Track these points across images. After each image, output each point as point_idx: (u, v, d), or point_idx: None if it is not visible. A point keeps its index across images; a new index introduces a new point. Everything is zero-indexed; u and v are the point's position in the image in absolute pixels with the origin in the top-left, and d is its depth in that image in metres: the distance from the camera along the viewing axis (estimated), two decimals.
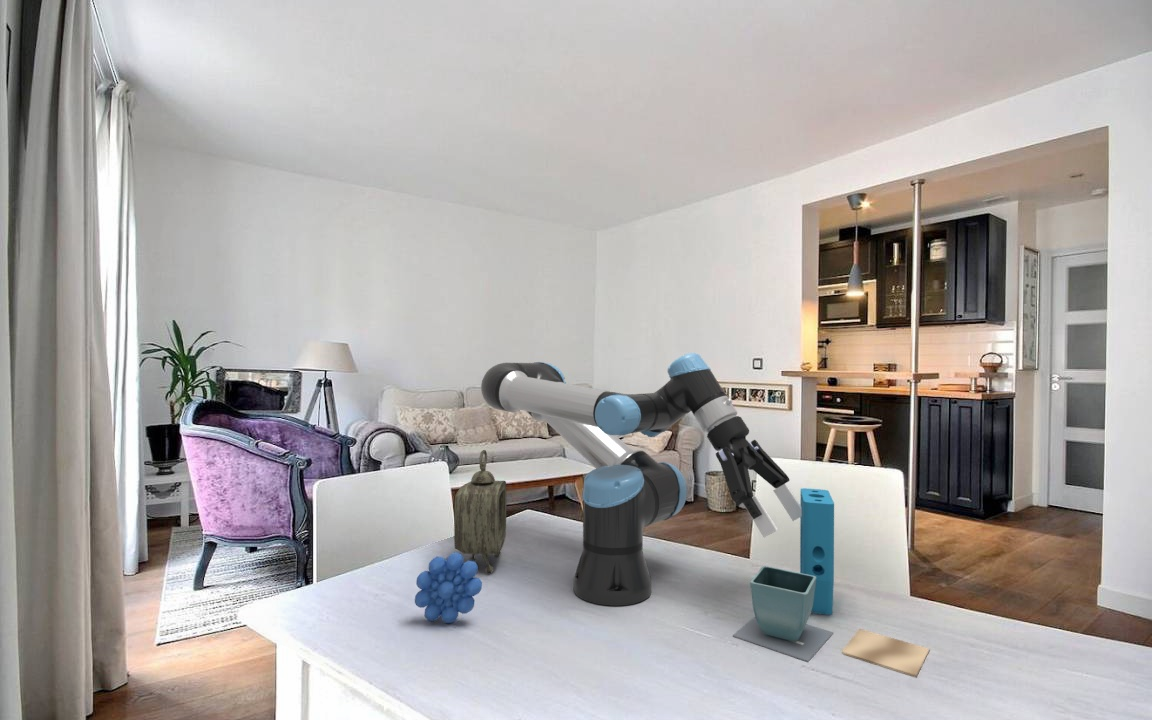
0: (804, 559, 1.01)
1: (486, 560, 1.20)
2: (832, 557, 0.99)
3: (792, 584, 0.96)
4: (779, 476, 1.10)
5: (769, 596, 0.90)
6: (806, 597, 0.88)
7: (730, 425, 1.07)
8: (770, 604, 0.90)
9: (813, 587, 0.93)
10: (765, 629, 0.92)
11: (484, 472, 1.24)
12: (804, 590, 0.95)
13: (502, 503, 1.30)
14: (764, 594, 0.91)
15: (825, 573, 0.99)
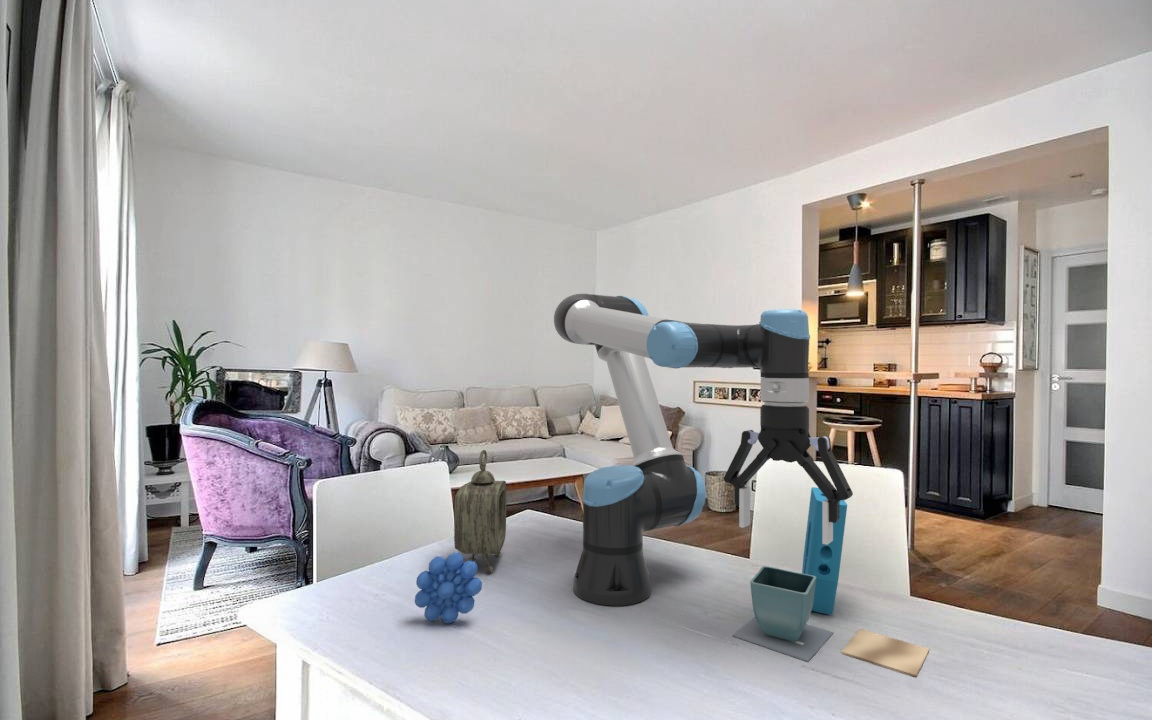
0: (811, 557, 1.01)
1: (486, 560, 1.20)
2: (839, 558, 0.99)
3: (792, 584, 0.96)
4: (824, 491, 0.88)
5: (769, 596, 0.90)
6: (806, 597, 0.88)
7: (762, 412, 0.93)
8: (770, 604, 0.90)
9: (813, 587, 0.93)
10: (765, 629, 0.92)
11: (484, 472, 1.24)
12: (804, 590, 0.95)
13: (502, 503, 1.30)
14: (764, 594, 0.91)
15: (830, 573, 0.99)
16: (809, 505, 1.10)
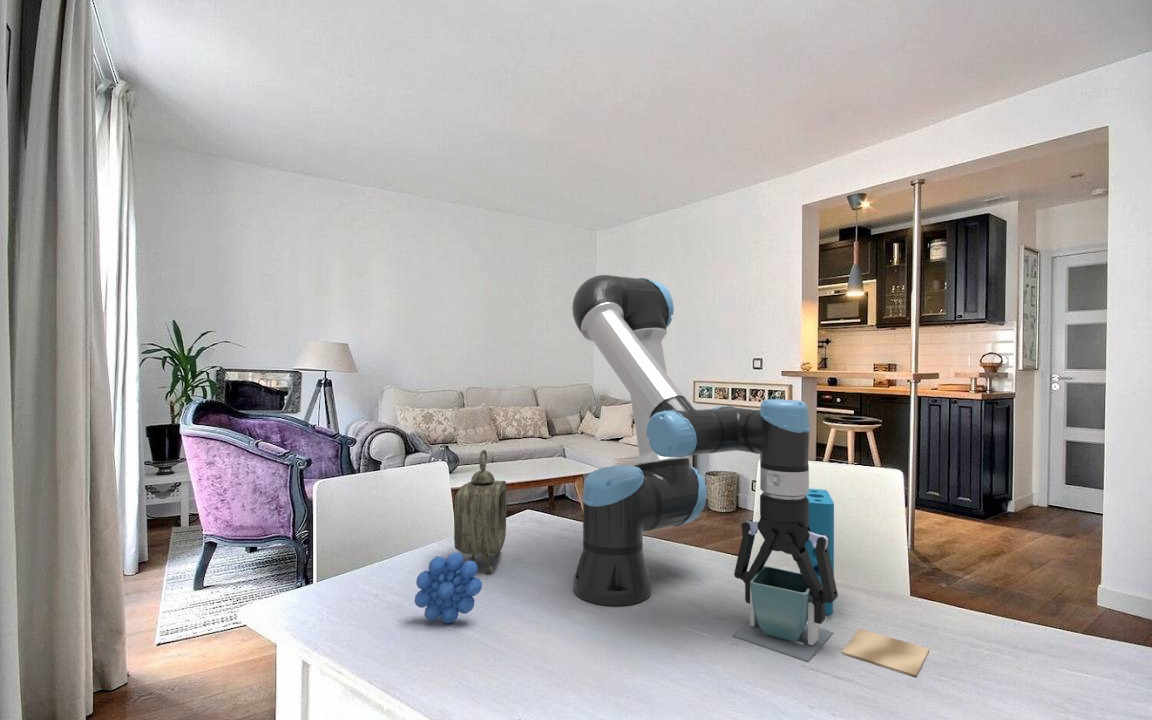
0: None
1: (486, 560, 1.20)
2: (832, 557, 0.99)
3: (792, 584, 0.96)
4: (812, 591, 0.89)
5: (769, 596, 0.90)
6: (806, 597, 0.88)
7: (761, 503, 0.93)
8: (770, 604, 0.90)
9: None
10: (765, 629, 0.92)
11: (484, 472, 1.24)
12: (804, 590, 0.95)
13: (502, 503, 1.30)
14: (764, 594, 0.91)
15: None
16: None
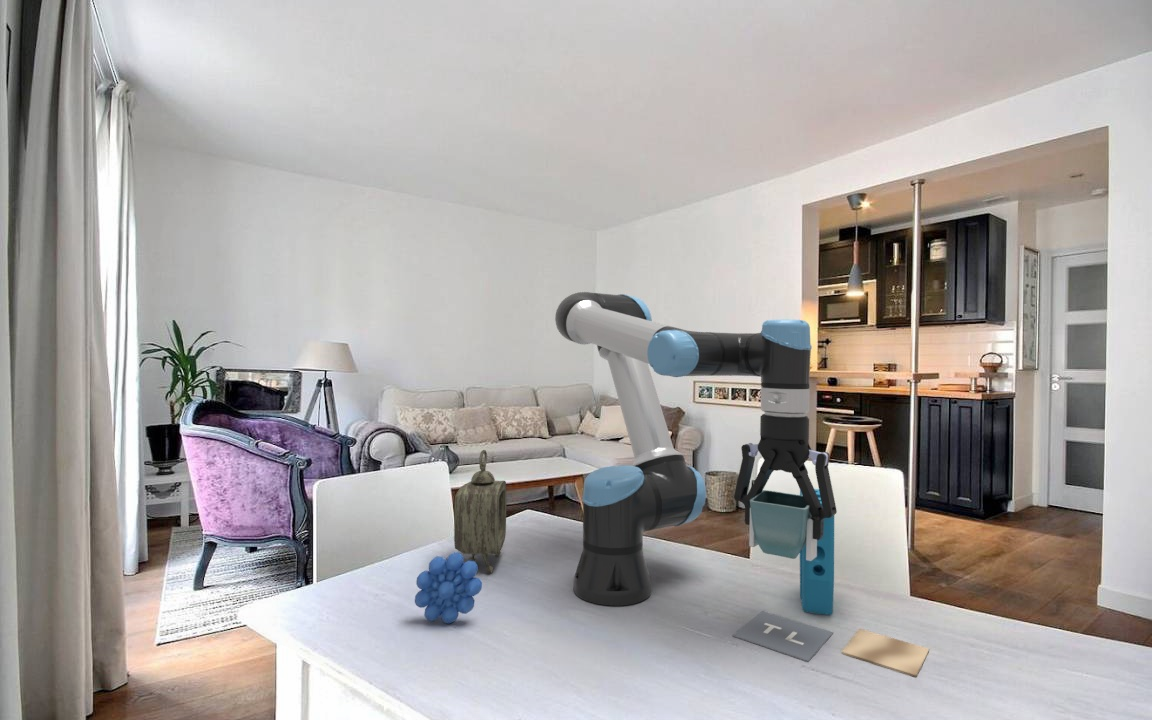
0: (804, 559, 1.01)
1: (486, 560, 1.20)
2: (832, 557, 0.99)
3: (792, 506, 0.96)
4: (810, 507, 0.90)
5: (769, 513, 0.91)
6: (805, 512, 0.88)
7: (762, 422, 0.93)
8: (769, 521, 0.91)
9: None
10: (764, 547, 0.92)
11: (484, 472, 1.24)
12: None
13: (502, 503, 1.30)
14: (763, 511, 0.91)
15: (825, 573, 0.99)
16: None
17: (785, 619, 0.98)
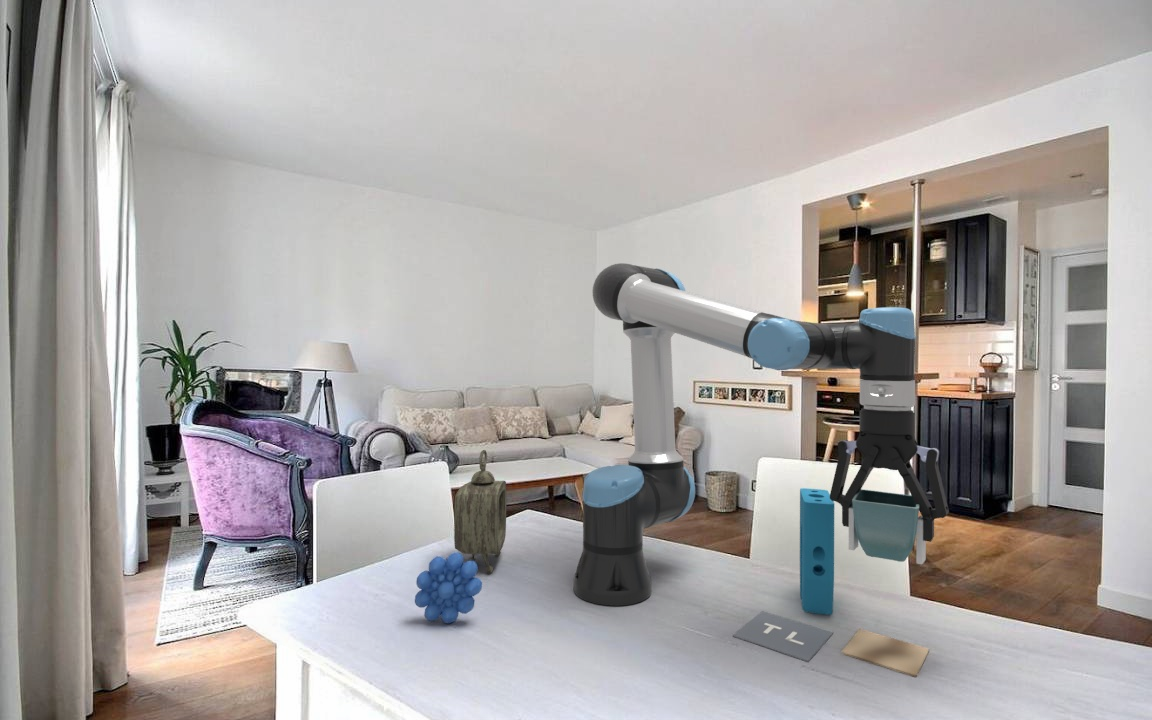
0: (804, 559, 1.01)
1: (486, 560, 1.20)
2: (832, 557, 0.99)
3: None
4: (921, 507, 0.84)
5: (875, 513, 0.85)
6: (917, 512, 0.82)
7: (863, 417, 0.88)
8: (876, 522, 0.85)
9: None
10: (868, 550, 0.87)
11: (484, 472, 1.24)
12: None
13: (502, 503, 1.30)
14: (868, 511, 0.85)
15: (825, 573, 0.99)
16: None
17: (785, 619, 0.98)
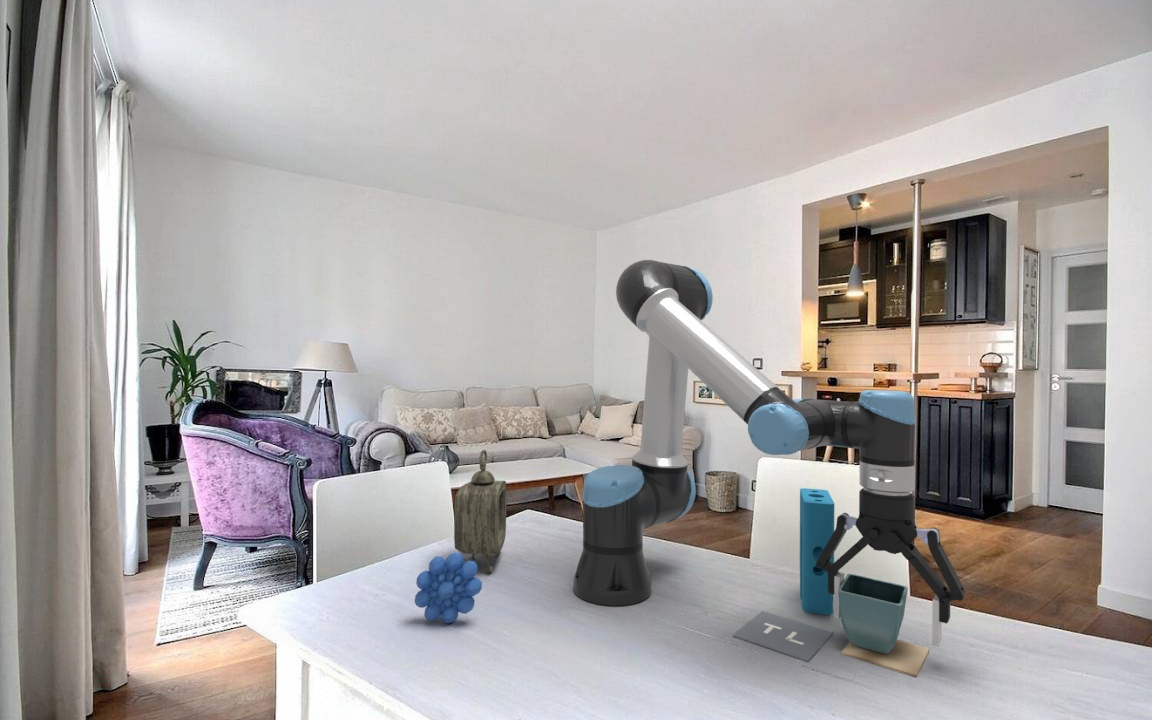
0: (804, 559, 1.01)
1: (486, 560, 1.20)
2: (832, 557, 0.99)
3: (880, 594, 0.92)
4: (935, 589, 0.83)
5: (860, 606, 0.87)
6: (901, 608, 0.84)
7: (862, 499, 0.88)
8: (860, 614, 0.87)
9: (905, 598, 0.89)
10: (853, 640, 0.88)
11: (484, 472, 1.24)
12: (894, 600, 0.91)
13: (502, 503, 1.30)
14: (853, 603, 0.87)
15: (825, 573, 0.99)
16: None
17: (785, 619, 0.98)
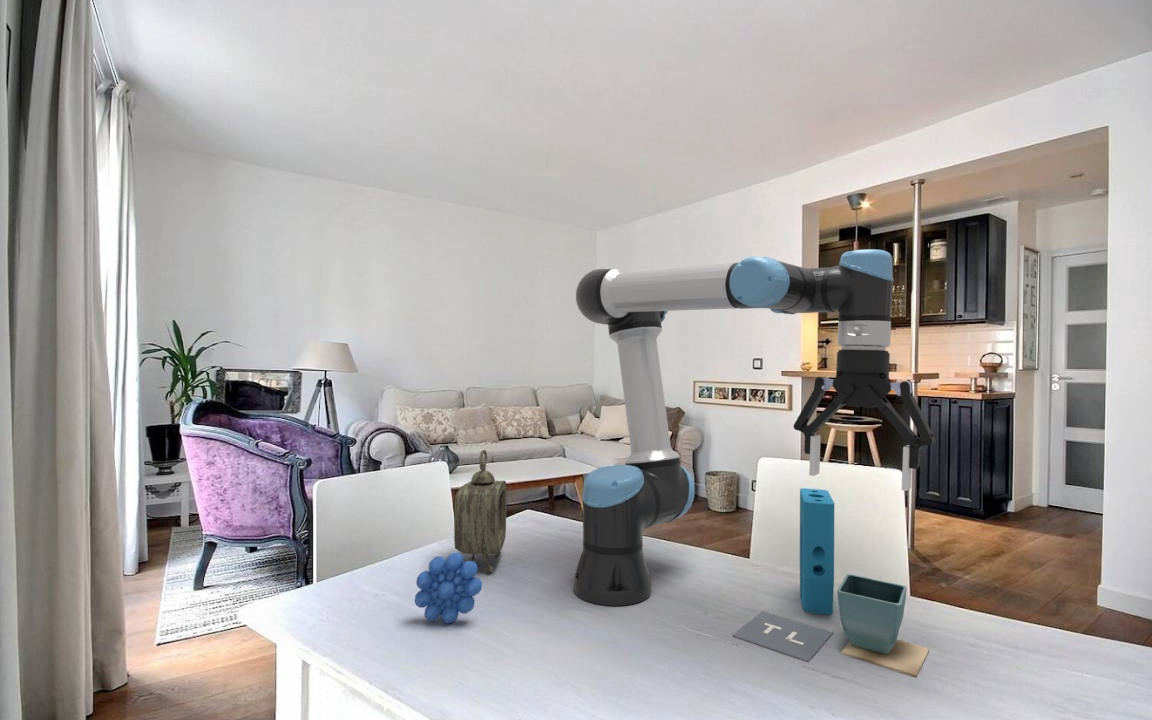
0: (804, 559, 1.01)
1: (486, 560, 1.20)
2: (832, 557, 0.99)
3: (880, 594, 0.92)
4: (906, 436, 0.86)
5: (859, 606, 0.87)
6: (900, 608, 0.84)
7: (839, 357, 0.91)
8: (859, 614, 0.87)
9: (904, 597, 0.89)
10: (853, 640, 0.88)
11: (484, 472, 1.24)
12: (893, 600, 0.91)
13: (502, 503, 1.30)
14: (852, 603, 0.87)
15: (825, 573, 0.99)
16: None
17: (785, 619, 0.98)
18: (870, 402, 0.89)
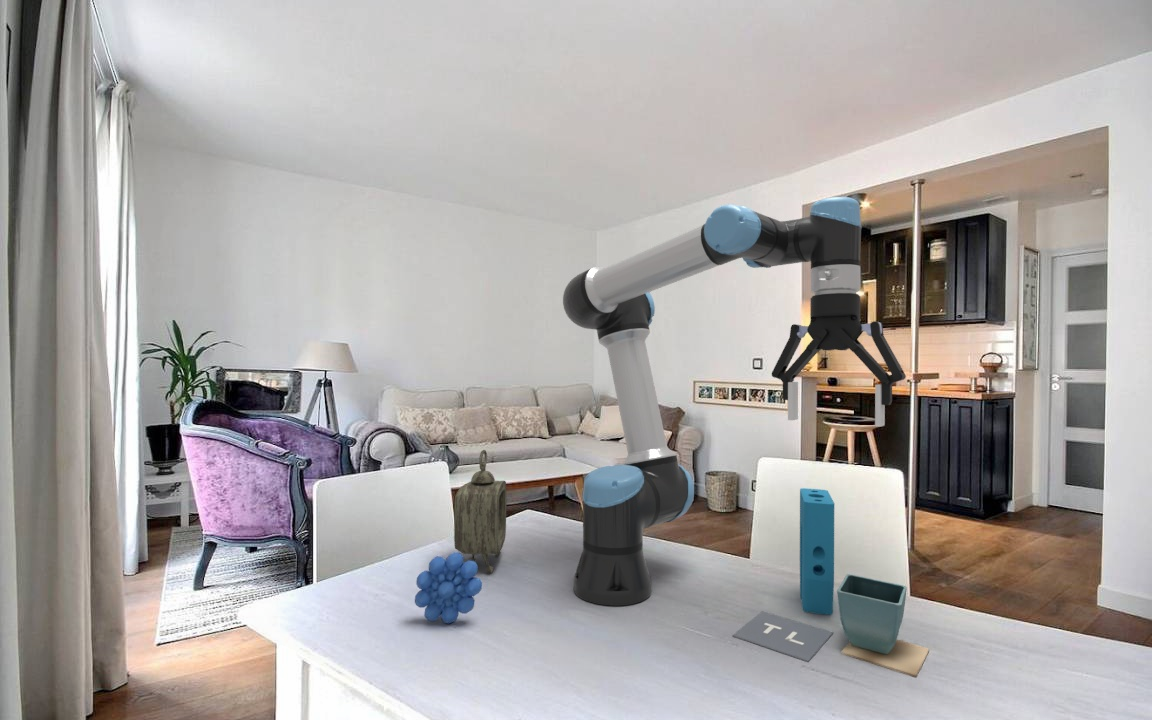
0: (804, 559, 1.01)
1: (486, 560, 1.20)
2: (832, 557, 0.99)
3: (880, 594, 0.92)
4: (877, 374, 0.89)
5: (859, 606, 0.87)
6: (900, 608, 0.84)
7: (812, 302, 0.94)
8: (859, 614, 0.87)
9: (904, 597, 0.89)
10: (853, 640, 0.88)
11: (484, 472, 1.24)
12: (893, 600, 0.91)
13: (502, 503, 1.30)
14: (852, 603, 0.87)
15: (825, 573, 0.99)
16: None
17: (785, 619, 0.98)
18: (843, 344, 0.92)
